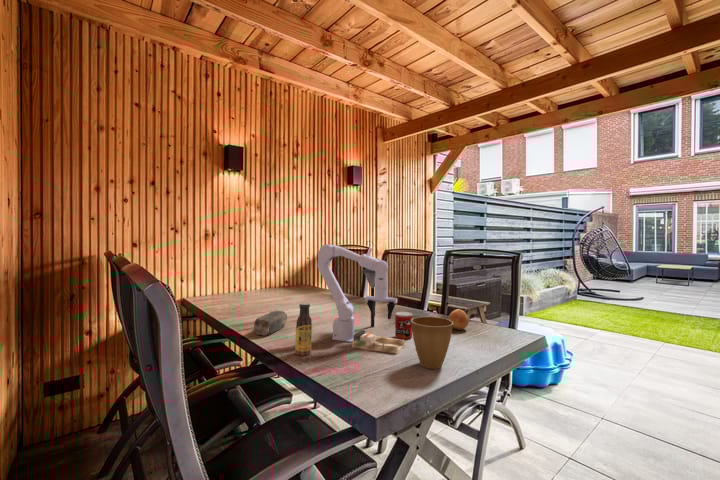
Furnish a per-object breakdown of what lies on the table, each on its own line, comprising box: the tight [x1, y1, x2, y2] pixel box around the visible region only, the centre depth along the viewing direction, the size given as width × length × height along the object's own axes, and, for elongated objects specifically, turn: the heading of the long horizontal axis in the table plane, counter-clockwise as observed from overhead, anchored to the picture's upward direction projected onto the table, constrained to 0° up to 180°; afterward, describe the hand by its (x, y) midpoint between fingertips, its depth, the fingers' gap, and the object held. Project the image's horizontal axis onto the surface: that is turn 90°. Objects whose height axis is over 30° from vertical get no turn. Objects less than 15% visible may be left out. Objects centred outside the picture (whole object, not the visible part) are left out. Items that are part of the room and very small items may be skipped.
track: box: [351, 329, 406, 355], centre depth 142 cm, size 20×10×5 cm, turn 66°
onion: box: [447, 308, 470, 331], centre depth 169 cm, size 10×10×10 cm
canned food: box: [394, 311, 413, 341], centre depth 155 cm, size 8×8×11 cm
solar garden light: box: [360, 268, 376, 328], centre depth 174 cm, size 12×12×30 cm
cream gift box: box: [360, 332, 376, 343], centre depth 144 cm, size 5×6×4 cm
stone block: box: [253, 310, 288, 336], centre depth 166 cm, size 20×9×10 cm
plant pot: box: [411, 316, 454, 370], centre depth 122 cm, size 15×15×16 cm
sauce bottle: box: [294, 302, 313, 357], centre depth 134 cm, size 6×6×20 cm
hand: (381, 317), depth 151 cm, fingers open, 7 cm apart
